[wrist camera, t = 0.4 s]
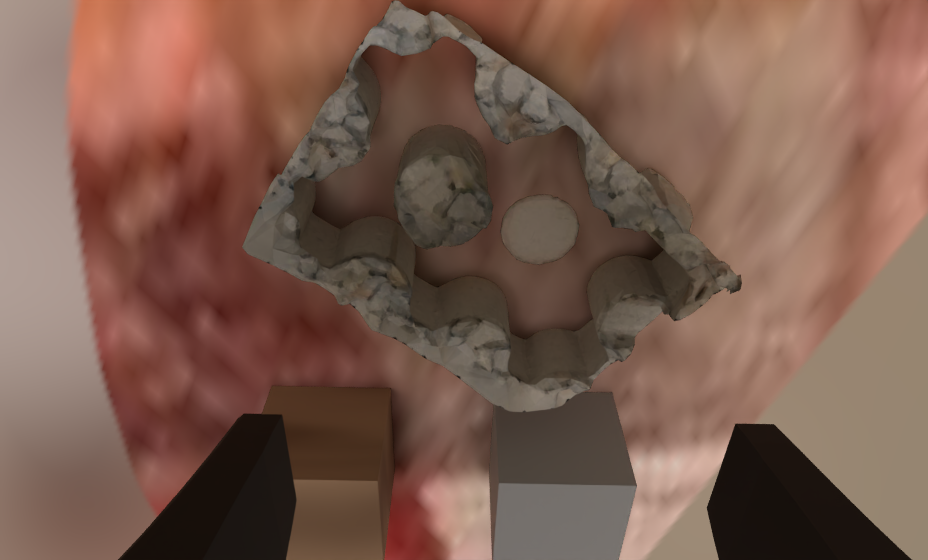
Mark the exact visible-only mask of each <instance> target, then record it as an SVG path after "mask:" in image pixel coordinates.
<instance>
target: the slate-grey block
mask: <svg viewBox="0 0 928 560" xmlns="http://www.w3.org/2000/svg"><path fill="white" fill-rule="evenodd" d="M489 483H490V511H491V540H492V560H619V556H620V552H621V548H622V544H623V540H624V536H625V532H626V528H627V524H628V520H629V516H630V512H631V508H632V504H633V500H634V495H635V491H636V487H637V484H636V481H635V477H634V473H633V469H632V466H631V462H630V458H629V454H628V450H627V447H626V443H625V439H624V435H623V431H622V428H621V424H620V420H619V416H618V412H617V409H616V405H615V401H614V397H613V393H607V392H581V393H579V394H576V395H574V396H573V397H572V398H571V399H570V400H568V401H567V402H566V403H565V404H563V405H562V406H560V407H557V408H554V409H546V410H538V411H529V412H513V411H508V410H506V409H503V408H501V407H499V406H497V405H494V404H493V418H492V433H491V449H490V464H489Z"/></svg>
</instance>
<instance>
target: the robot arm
mask: <svg viewBox="0 0 928 560" xmlns="http://www.w3.org/2000/svg"><path fill="white" fill-rule="evenodd" d="M296 502H297V498H296V492H295V487H294V481H293V475H292V469H291V463H290V457H289V451H288V445H287V440H286V434H285V428H284V422H283V416H282V414H243V415H242V416H241V417H239V418H238V419H237V420H236V422H235V423H234V424H233V426H232V427H231V428H230V429H229V431H228V432H227V433H226V435H225V436H224V437H223V438H222V440H221V441H220V442H219V443H218V445H217V446H216V447H215V448H214V450H213V451H212V452H211V454H210V455H209V456H208V457H207V459H206V460H205V461H204V462H203V463H202V465H201V466H200V467H199V468H198V470H197V471H196V472H195V473H194V474H193V476H192V477H191V478H190V479H189V481H188V482H187V483H186V484H185V485H184V487H183V488H182V489H181V490H180V491H179V492H178V494H177V495H176V496H175V497H174V498H173V499H172V500H171V502H170V503H169V504H168V505H167V506H166V507H165V509H164V510H163V511H162V512H161V513H160V514H159V516H158V517H157V518H156V519H155V520H154V521H153V522H152V524H151V525H150V526H149V527H148V528H147V529H146V530H145V532H144V533H143V534H142V535H141V536H140V537H139V538H138V539H137V540H136V541H135V542H134V543H133V544H132V546H131V547H130V548H129V549H128V550H127V551H126V552H125V553H124V554H123V555H122V556H121V557H120V558H119V559H118V560H286V557H287V552H288V546H289V541H290V536H291V531H292V525H293V519H294V513H295V508H296ZM707 511H708V515H709V520H710V524H711V529H712V533H713V537H714V542H715V546H716V550H717V553H718V558H719V560H911V559H910V558H909V557H908V556H907V555H906V554H905V553H904V552H903V551H902V550H901V549H899V548H898V547H897V546H896V545H895V544H894V543H893V542H892V541H891V540H890V539H889V538H888V537H887V536H886V535H885V534H884V533H883V532H882V531H880V529H879V528H877V527H876V526H875V525H874V524H873V523H872V522H871V521H870V520H869V519H868V518H867V517H866V516H865V515H864V514H863V513H862V512H861V511H860V510H859V509H858V508H857V507H856V506H855V505H854V504H853V503H852V502H851V501H850V500H849V499H848V498H847V497H846V496H845V495H844V494H843V493H842V492H841V491H840V490H839V489H838V488H837V487H836V486H835V485H834V484H833V483H832V482H831V481H830V480H829V479H828V478H827V477H826V476H825V475H824V474H823V473H822V472H821V471H820V470H819V469H818V468H817V467H816V466H815V465H814V464H813V463H812V462H811V461H810V460H809V459H808V458H807V457H806V456H805V455H804V454H803V453H802V452H801V451H800V450H799V449H798V448H797V447H796V446H795V445H794V444H793V443H792V442H791V441H790V440H789V439H788V438H787V437H786V436H785V435H784V434H783V433H782V432H781V431H780V430H779V429H778V428H777V427H776V426H775V425H774V424H735V427H734V430H733V433H732V436H731V439H730V441H729V444H728V447H727V450H726V453H725V456H724V459H723V462H722V465H721V468H720V471H719V474H718V477H717V480H716V482H715V486H714V488H713V491H712V494H711V497H710V500H709V503H708V506H707Z"/></svg>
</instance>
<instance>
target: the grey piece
mask: <svg viewBox="0 0 928 560" xmlns="http://www.w3.org/2000/svg"><path fill="white" fill-rule="evenodd" d="M442 36H448V37H450V38H452V39H453V40H456V41H458V42H460V43H462V44H464V45H465V46H466V47H467V48H468V49H469V50H470V51H471V52H472V53H473V54H474V55H475V56H476V74H475V83H474V87H475V99H476V102H477V105H478V107H479V109H480V112H481V114H482V116H483V118H484V119H485V121H486V122H487V123H488V125H489V126H490V128H491V130H492V133H493V135H494V137H495V138H496V139H498V140H500V141H502V142H504V143H506V144H509V143H511V142H513V141H515V140H517V139H520V138H523V137H529V136H540V135H546V134H549V133H551V132H553V131H555V130H557V129H558V128H559V127H561V126H564V125H567V126H569V127H570V128H572V129H573V130H574V131H575V132H576V133H577V134H578V135H577V149H578V156H579V160H580V163H581V167H582V170H583V173H584V176H585V179H586V181H587V183H588V189H589V195H590V197H591V200H592V203H593V205H594V207H596V208H598V209H601V210H603V211H604V212H605V213H607V214H608V217H609V220H610V222H611V225H612V227H615V228H627V229H633V231H635V232H637V231H643V230H646V231H647V232H648V233H649V235H650V236H651V237H652V238H653V239H654V240H655V241H656V242H657V243H658V244H659V245H660V246H661V247H662V248H663V249H664V250H663V251H662V252H661V253H660V254H659V255H658V256H657V257H656V258H654V259H653V260H648V259H645V258H641V257H638V256H630V255H627V256H621V257H617V258H613V259H610V260H608V261H607V262H605V263H603V264H602V265H601V266H600V267H599V268H597V269H596V270H595V272H594V273H593V275H592V276H591V278H590V281H589V283H588V285H587V296H588V301H589V306H590V310H591V313H592V317H593V319H592V320H590V321H589V322H588V323H587V324H586V325H584V326H583V327H582V328H581V329H579V330H578V331H570V330H565V329H554V328H551V329H545V330H542V331H539V332H537V333H535V334H533V335H532V336H531V337H529V338H527V339H521V338H519V337H517V336H515V335H514V334H512V333H510V329H509V320H508V309H507V301H506V297H505V295H504V294H503V292H502V291H501V289H500V288H499V287H498V286H497V285H496V284H495V283H493V282H491V281H489V280H487V279H483V278H479V277H476V276H464V277H460V278H456V279H453V280H452V281H450V282H448V283H446V284H444V285H442V286H440V287H435V286H432V285H430V284H429V283H427V282H426V281H424V280H422V279H421V278H419V277H417V276H416V275H414V268H415V258H416V248H415V244H416V245H417V246H419V247H422V248H424V249H430V248H434V247H438V246H450V247H451V246H456V245H461V244H463V243H465V242H467V241H469V240H470V239H472V238H473V237H474V236H476V235H477V234H478V233H479V232H480V231H481V230H482V229H483V228H487V226H488V224H489V223H490V221H491V216H492V210H493V204H492V201H491V198H490V196H489V193H488V187H487V174H486V165H485V158H484V154H483V152H482V149H481V148H480V146H479V144H478V142H477V141H476V140H475V139H474V138H473V137H472V136H471V135H470V134H468V133H467V132H466V131H465V130H462V129H459V128H457V127H454V126H451V125H434V126H429V127H427V128H424V129H422V130H421V131H420V132H418V133H417V134H415V135H414V136H412V137H411V138H410V139H409V141H408V143H407V144H406V146H405V148H404V151H403V154H402V158H401V161H400V165H399V171H398V175H397V179H396V182H395V187H394V207H395V209H396V211H397V214H398V219H399V221H400V223H401V224H402V226H403V227H402V226H401V225H399V224H398V223H396V222H395V221H393V220H391V219H388V218H384V217H379V216H369V217H364V218H361V219H358V220H355V221H353V222H351V223H350V224H349V225H347V226H346V227H344V228H342V229H338V228H336V227H334V226H333V225H331V224H329V223H327V222H326V221H324V220H322V219H321V218H319V217H318V216H316V215H315V214H314V213H313V212H312V209H313V207H314V203H315V198H316V189H315V183H314V181H317V182H319V181H322V180H324V179H325V178H327V177H328V176H329V175H330V174H332V173H333V172H334V171H335V170H337V169H338V168H341V167H348V166H353V165H355V164H357V163H359V162H360V161H362V159H363V158H364V156H365V154H366V153H367V152H368V151H369V149H370V146H371V145H370V135H371V132H372V128H373V125H374V123H375V120H376V118H377V115H378V111H379V108H380V103H381V91H380V85H379V82H378V80H377V77H376V75H375V74H374V72H373V70H372V69H371V67H370V66H369V65H368V64H367V63H366V62H365V61H364V59H363V58H362V57H361V55H362V53H363V52H364V51H365V50H366V49H367V48H368V47H369V46H370V45H377V46H380V47H382V48H385V49H387V50H390V51H391V52H393V53H396V54H398V55H401V56H404V55H411V54H417V53H420V52H422V51H424V50H427V49H429V48H431V46H432V45H433V43H435V42H436V41H437V40H439V39H440V38H441V37H442ZM692 219H693V215H692V212H691V208H690V205H689V204H688V203H687V202H686V200H685V198H684V197H683V196H682V195H681V194H680V193H679V192H678V191H677V190H676V189H675V188H674V186H673V185H672V184H671V183H669V182H668V181H667V180H666V179H665V178H664V177H663V176H661V175H660V174H658V173H656V172H655V171H653V170H652V169H650V168H647V169H645V170H644V171H642V172H641V173H639V172H638V171H636V170H635V169H634V168H633V167H632V166H631V165H630V164H629V163H628V162H626V161H625V160H623V159H622V158H620V157H619V156H618V155H617V154H616V153H615V152H614V151H613V150H612V149H611V148H610V146H609V145H608V144H607V143H606V141H605V140H604V139H603V138H602V137H601V135H600V134H599V133H598V132H597V131H596V130H595V129H594V128H593V127H592V126H591V125H590V124H589V123H588V120H587V119H586V117H585V116H584V115H582V114H581V113H579V112H578V111H577V110H576V109H575V108H574V107H573V106H572V105H571V104H570V103H569V102H568V101H566V100H565V99H564V98H562V97H561V96H560V95H558V94H557V93H556V92H554V91H553V90H552V89H550V88H549V87H548V86H546V85H545V84H543V83H542V82H540V81H539V80H537V79H536V78H534V77H532V76H531V75H529V74H528V73H526V72H525V71H523V70H522V69H520V68H519V67H517V66H516V65H514V64H513V63H511V62H509V61H508V60H506V59H505V58H503V57H502V56H500V55H499V54H497V53H496V52H494V51H493V50H491V49H490V48H489V47H487V46H486V45H484V44H483V43H482V38H481V37H480V36H479V35H478V34H477V33H476V32H475V31H474V30H473V29H472V28H471V27H470V26H469V25H467V24H466V23H465V22H463V21H462V20H460V19H458V18H456V17H454V16H452V15H449V14H446V15H445V16H442V15H441V14H439V13H438V12H434V11H431V12H430V13H429V14H428V15H427V16H424V15H422V14H420V13H418V12H416V11H413V10H411V9H409V8H406V7H405V6H404V5H403V4H402V3H401V2H400V1H395V0H394V1H392V2H391V4H390V7H389V9H388V11H387V13H386V14H385V16H384V17H383V19H382V21H381V22H380V23H379V24H378V25H377V26H374V27H373V28H372V29H371V30H370V31H369V33H368V34H367V36H366V37H365V39H364V40H363V42H362V43H361V45H360V46H359V48H358V49H357V51H356V53H355V55H354V57H353V59H352V61H351V63H350V65H349V67H348V69H347V72H346V76H345V79H344V80H343V82H342V84H341V86H340V88H339V89H338V90H337V91H336V92H335V93H333V94H332V95H331V96H330V97H329V98H328V99H327V100H326V102H325V103H324V104H323V106H322V108H321V109H320V111H319V113H318V114H317V116H316V118H315V120H314V122H313V125H312V127H311V129H310V131H309V132H308V133H307V134H306V135H305V136H304V138H303V139H302V141H301V142H300V144H299V145H298V147H297V149H296V150H295V152H294V154H293V155H292V157H291V159H290V161H289V162H288V164H287V166H286V167H285V169H284V171H283V173H282V175H279V173H278V175H277V176H276V177H275V179H274V180H273V182H272V183H271V185H270V187H269V189H268V191H267V193H266V195H265V197H264V199H263V201H262V203H261V205H260V207H259V209H258V211H257V213H256V215H255V217H254V219H253V222H252V224H251V227H250V229H249V232H248V234H247V237H246V239H245V242H244V244H243V247H242V248H243V249H244V250H245V251H246V252H247V254H249V255H251V256H253V257H255V258H258V259H260V260H262V261H264V262H267V263H269V264H271V265H273V266H276V267H278V268H280V269H282V270H284V271H286V272H288V273H290V274H291V275H293V276H295V277H297V278H298V279H300V280H302V281H308V282H314V283H316V284H318V285H319V286H321V287H323V288H325V289H326V290H328V291H329V292H331V293H332V294H333V295H335V297H336V300H337V302H338V304H340V305H347V304H351V305H352V306H353V307H354V308H355V309H356V310H358V311H359V312H360V314H361V315H362V317H363V318H364V320H365V321H366V323H367V324H368V326H369V327H370V328H371V330H373V331H376V332H378V333H381V334H384V335H387V336H389V337H392V338H394V339H396V340H398V341H400V342H402V343H404V344H406V345H407V346H408V347H410V348H411V349H413V350H414V351H416V352H417V353H418V354H420V355H421V356H423V357H424V358H426V359H428V360H430V361H432V362H435V363H437V364H440V365H442V366H444V367H445V368H446V369H448V370H449V371H450V372H452V373H453V374H454V375H456V376H457V377H458V378H460V379H461V380H462V381H464V382H465V383H466V384H467V385H469V386H470V387H471V388H473V389H474V390H475V391H476V392H478V393H479V394H480V395H482V396H483V397H484V398H485V399H487V400H488V401H489V402H491V403H492V404H494V405H497V406H499V407H501V408H503V409H506V410H508V411H513V412H529V411H538V410H546V409H554V408H557V407H560V406H562V405H563V404H565V403H566V402H567V401H568V400H570V399H571V398H572V397H573V396H574V395H576V394H579V393H581V392H583V391H586V390H589V389H590V388H591V385H592V383H593V380H594V379H595V378H596V377H597V376H598V375H599V374H600V373H601V372H602V371H603V370H604V369H605V368H607V367H608V366H609V365H610V364H612V363H613V362H615V361H617V360H619V361H621V362H622V361H625V359H626V358H627V357H628V356H629V355H630V354H631V352H632V350H633V347H634V345H635V339H634V338H635V336H636V335H637V333H638V332H640V331H641V330H642V329H643V328H645V327H646V326H647V325H648V324H649V323H650V322H651V321H653V320H654V319H655V318H656V317H657V316H658V315H659V314H660V313H661V312H662V311H663V313H664V314H669V315H670V317H671V318H672V319H673V320H674V321H676V320H681V319H683V318H685V317H686V316H688V315H690V314H692V313H693V312H695V311H696V310H697V309H698V308H700V307H701V306H702V305H703V304H704V303H706V302H707V301H708V300H709V299H710V298H711V296H712V295H713V294H716V293H718V292H719V291H721V290H723V289H724V288H727V291H729V290H730V294H731V293H734V292H736V291H739V290H740V289H741V284H742V282H741V275H738V276H736V274H735V273H734V272H733V271H732V270H731V268H730V266H729V265H728V264H726V263H725V262H721V261H719V260H718V259H717V258H716V257H715V256H714V255H713V254H712V253H711V252H710V251H709V250H708V249H707V248H706V247H705V245H704V244H703V243H702V242H701V241H700V240H699V239H698V238H697V237H696V236H694V235H692V234H691V233H690V232H689V230H690V226H691V222H692ZM578 229H579V223H578V220H577V215H576V213H575V211H574V210H573V209H572V208H571V207H570V206H569V204H568V203H567V202H565V201H562V200H559V198H558V197H553V196H552V195H534V196H528V197H526V198H523V199H521V200H519V201H517V202H516V203H515V204H513V205H512V206H511V207H510V208H509V209H508V211H507V212H506V214H505V216H504V217H503V220H502V226H501V236H502V240H503V244H504V245H505V246H506V247H507V249H508V250H509V251H510V253H511V254H512V255H513V256H514V257H515V258H516V259H517V260H520V261H522V262H524V263H531V264H538V265H539V264H544V263H548V262H553V261H555V260H558V259H560V258H562V257H563V256H564V255H565V254H566V253H567V252H568V251H569V250H570V249H571V248H572V247H573V245H574V244H575V242H576V237H577V234H578ZM414 243H415V244H414Z"/></svg>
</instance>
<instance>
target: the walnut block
mask: <svg viewBox="0 0 928 560" xmlns="http://www.w3.org/2000/svg"><path fill="white" fill-rule="evenodd" d="M262 414H282V416H283V422H284V428H285V434H286V440H287V445H288V451H289V457H290V463H291V469H292V475H293V481H294V487H295V492H296V498H297V502H296V508H295V513H294V519H293V525H292V531H291V536H290V541H289V546H288V552H287V557H286V560H384V557H385V548H386V540H387V531H388V522H389V514H390V505H391V496H392V488H393V479H394V470H395V466H394V446H393V425H392V405H391V388H355V387H305V386H272V387H271V390H270V392H269V395H268V398H267V401H266V404H265V406H264V409H263V412H262Z"/></svg>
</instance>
